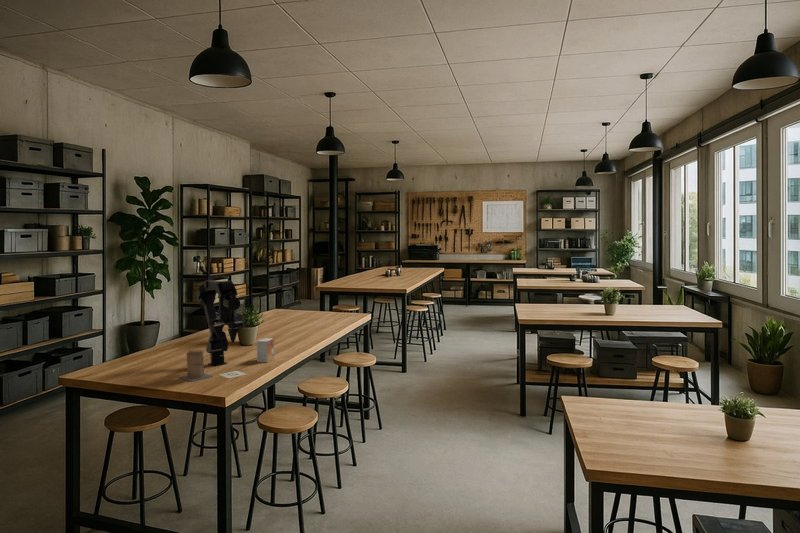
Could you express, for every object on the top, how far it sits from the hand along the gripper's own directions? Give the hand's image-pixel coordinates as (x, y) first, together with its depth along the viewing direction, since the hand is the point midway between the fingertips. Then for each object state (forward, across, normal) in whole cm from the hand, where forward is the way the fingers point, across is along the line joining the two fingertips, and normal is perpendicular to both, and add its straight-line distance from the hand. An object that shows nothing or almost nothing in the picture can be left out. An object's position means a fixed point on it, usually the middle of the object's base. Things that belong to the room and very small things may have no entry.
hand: (226, 341), depth 241 cm
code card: (+13, -10, +5) cm, 17 cm away
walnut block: (+12, -1, +17) cm, 21 cm away
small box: (+13, -2, -21) cm, 25 cm away
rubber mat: (+13, -1, +17) cm, 21 cm away
